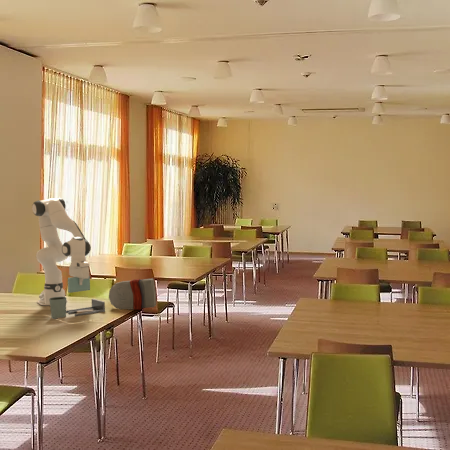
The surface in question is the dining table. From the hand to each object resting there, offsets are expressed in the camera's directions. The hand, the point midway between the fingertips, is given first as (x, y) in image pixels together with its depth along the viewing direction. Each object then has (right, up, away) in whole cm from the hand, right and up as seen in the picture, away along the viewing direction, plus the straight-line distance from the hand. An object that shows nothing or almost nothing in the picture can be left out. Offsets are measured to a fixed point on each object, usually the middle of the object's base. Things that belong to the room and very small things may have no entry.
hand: (79, 284), depth 415 cm
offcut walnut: (+5, -17, -4) cm, 19 cm away
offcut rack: (+4, -18, -1) cm, 18 cm away
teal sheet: (0, -4, 0) cm, 4 cm away
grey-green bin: (-10, -19, -13) cm, 25 cm away
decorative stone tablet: (+32, -17, +9) cm, 38 cm away
